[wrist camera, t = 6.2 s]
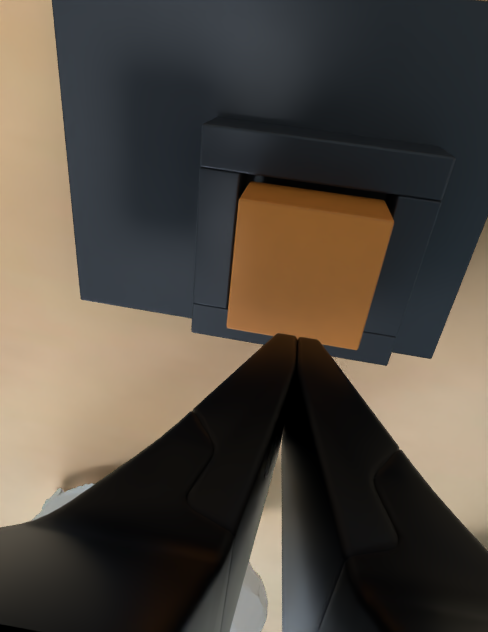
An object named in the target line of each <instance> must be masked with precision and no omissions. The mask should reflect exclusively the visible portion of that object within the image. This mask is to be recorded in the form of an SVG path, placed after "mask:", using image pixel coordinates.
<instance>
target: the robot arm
mask: <svg viewBox="0 0 488 632" xmlns="http://www.w3.org/2000/svg"><path fill="white" fill-rule="evenodd" d="M282 434H283V435H282ZM281 439H282V451H281V470H282V632H488V551H487V550H486V549H485V548H484V547H483V546H482V545H481V543H480V542H479V541H478V540H477V539H476V538H475V537H474V536H473V535H472V534H471V533H470V531H469V530H468V529H467V528H466V527H465V526H464V525H463V524H462V523H461V522H460V521H459V519H458V518H457V517H456V516H455V515H454V514H453V513H452V511H451V510H450V509H449V508H448V507H447V506H446V505H445V503H444V502H443V501H442V500H441V499H440V498H439V497H438V496H437V494H436V493H435V492H434V491H433V490H432V488H431V487H430V486H429V485H428V483H427V482H426V481H425V480H424V478H423V477H422V476H421V475H420V473H419V472H418V471H417V470H416V468H415V467H414V466H413V465H412V463H411V462H410V461H409V459H408V458H407V457H406V455H405V454H404V453H403V451H402V450H399V446H398V445H397V444H396V442H395V441H394V440H393V438H392V437H391V436H390V434H389V433H388V432H387V430H386V429H385V428H384V426H383V425H382V424H381V422H380V421H379V420H378V418H377V417H376V416H375V414H374V413H373V412H372V410H371V409H370V408H369V406H368V405H367V404H366V402H365V401H364V400H363V398H362V397H361V396H360V394H359V393H358V392H357V390H356V389H355V388H354V386H353V385H352V384H351V382H350V381H349V380H348V378H347V377H346V376H345V374H344V373H343V372H342V370H341V369H340V368H339V366H338V365H337V364H336V362H335V361H334V360H333V358H332V357H331V356H330V354H329V353H328V352H327V350H326V349H325V348H324V346H323V345H322V344H321V342H320V341H319V340H317V339H312V338H306V337H299V338H298V339H297V337H296V336H294V335H288V334H282V333H277V334H276V335H275V336H273V337H272V338H271V339H270V340H269V341H268V342H267V343H266V344H265V345H264V346H262V347H261V348H260V349H259V350H258V351H257V352H256V353H255V354H254V355H252V356H251V357H250V358H249V359H248V360H247V361H246V362H245V363H244V364H243V365H241V366H240V367H239V368H238V369H237V370H236V371H235V372H234V373H233V374H232V375H230V376H229V377H228V378H227V379H226V380H225V381H224V382H223V383H222V384H220V385H219V386H218V387H217V388H216V389H215V390H214V391H213V392H212V393H211V394H209V395H208V396H207V397H206V398H205V399H204V400H203V401H202V402H201V403H199V404H198V405H197V406H196V407H195V408H194V409H193V411H191V412H189V413H188V414H187V415H186V416H185V417H184V418H183V419H182V420H181V421H179V422H178V423H177V424H176V425H175V426H174V427H172V428H171V429H170V430H169V431H168V432H166V433H165V434H164V435H163V436H162V437H160V438H159V439H158V440H156V441H155V442H154V443H152V444H151V445H150V446H148V447H147V448H146V449H144V450H143V451H142V452H140V453H139V454H137V455H136V456H135V457H133V458H132V459H130V460H129V461H128V462H126V463H125V464H123V465H122V466H120V467H119V468H117V469H116V470H115V471H113V472H112V473H110V474H109V475H107V476H106V477H104V478H103V479H102V480H100V481H99V482H97V483H96V484H94V485H93V486H91V487H90V488H89V489H87V490H86V491H84V492H83V493H81V494H80V495H78V496H77V497H76V498H74V499H73V500H71V501H70V502H68V503H66V504H65V505H63V506H62V507H60V508H58V509H56V510H55V511H53V512H51V513H49V514H47V515H45V516H42V517H40V518H38V519H35V520H32V521H29V522H26V523H22V524H18V525H12V526H6V527H0V632H230V628H231V624H232V621H233V617H234V614H235V610H236V606H237V603H238V599H239V595H240V592H241V588H242V584H243V581H244V577H245V573H246V570H247V566H248V562H249V559H250V555H251V551H252V548H253V544H254V540H255V537H256V533H257V529H258V526H259V522H260V518H261V515H262V511H263V507H264V504H265V500H266V497H267V493H268V489H269V486H270V482H271V478H272V475H273V471H274V467H275V464H276V460H277V456H278V452H279V448H280V444H281Z"/></svg>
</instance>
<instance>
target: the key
mask: <svg viewBox="0 0 488 632" xmlns="http://www.w3.org/2000/svg"><path fill="white" fill-rule="evenodd" d="M393 226H394V220H393V218H392V216H391V213H390V211H389V209H388V207H387V205H386V203H385V201H384V200H380V199H373V198H366V197H359V196H352V195H345V194H338V193H331V192H324V191H317V190H310V189H303V188H296V187H289V186H282V185H275V184H268V183H261V182H254V181H251V182H249V184H248V186H247V187H246V189H245V191H244V192H243V194H242V195H241V197H240V199H239V202H238V212H237V222H236V233H235V243H234V253H233V263H232V274H231V284H230V294H229V304H228V315H227V325H226V326H227V328H229V329H235V330H241V331H246V332H252V333H258V334H264V335H270V336H275V335H276V334H277V333H282V334H288V335H294V336H296V337H297V339H298V338H299V337H306V338H312V339H317V340H319V341H320V342H321V344H323V345H329V346H335V347H341V348H346V349H352V350H358V348H359V345H360V341H361V338H362V334H363V331H364V327H365V324H366V320H367V317H368V313H369V310H370V306H371V303H372V299H373V296H374V292H375V289H376V285H377V282H378V278H379V275H380V271H381V268H382V264H383V261H384V257H385V254H386V250H387V247H388V243H389V240H390V236H391V233H392V229H393Z"/></svg>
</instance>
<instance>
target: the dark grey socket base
mask: <svg viewBox="0 0 488 632" xmlns="http://www.w3.org/2000/svg"><path fill="white" fill-rule="evenodd" d="M52 7H53V17H54V27H55V38H56V48H57V58H58V69H59V79H60V89H61V100H62V110H63V120H64V131H65V141H66V151H67V162H68V172H69V182H70V193H71V203H72V213H73V224H74V234H75V244H76V255H77V265H78V275H79V286H80V296H81V300H86V301H92V302H98V303H104V304H110V305H116V306H122V307H128V308H134V309H140V310H145V311H151V312H157V313H163V314H169V315H175V316H181V317H187V318H192V329H191V331H192V332H193V333H199V334H205V335H210V336H216V337H222V338H228V339H234V340H240V341H245V342H251V343H257V344H263V345H265V344H266V343H267V342H268V341H269V340H270V339H271V338H272V337H273V336H270V335H264V334H258V333H252V332H246V331H241V330H235V329H229V328H227V326H226V325H227V315H228V304H229V294H230V284H231V274H232V263H233V253H234V243H235V233H236V222H237V212H238V202H239V199H240V197H241V195H242V194H243V192H244V191H245V189H246V187H247V186H248V184H249V182H251V181H254V182H261V183H268V184H275V185H282V186H289V187H296V188H303V189H310V190H317V191H324V192H331V193H338V194H345V195H352V196H359V197H366V198H373V199H380V200H384V201H385V203H386V205H387V207H388V209H389V211H390V213H391V216H392V218H393V220H394V226H393V229H392V233H391V236H390V240H389V243H388V247H387V250H386V254H385V257H384V261H383V264H382V268H381V271H380V275H379V278H378V282H377V285H376V289H375V292H374V296H373V299H372V303H371V306H370V310H369V313H368V317H367V320H366V324H365V327H364V331H363V334H362V338H361V341H360V345H359V348H358V350H352V349H346V348H341V347H335V346H329V345H323V344H322V345H323V346H324V348H325V349H326V350H327V352H328V353H329V354H330V356H333V357H338V358H344V359H350V360H356V361H362V362H368V363H373V364H379V365H385V366H386V365H387V364H388V361H389V358H390V355H391V352H393V353H399V354H405V355H411V356H417V357H423V358H429V359H431V358H432V356H433V353H434V351H435V348H436V346H437V343H438V341H439V338H440V336H441V333H442V331H443V328H444V326H445V323H446V320H447V318H448V315H449V313H450V310H451V308H452V305H453V303H454V300H455V298H456V295H457V293H458V290H459V287H460V285H461V282H462V280H463V277H464V275H465V272H466V270H467V267H468V265H469V262H470V260H471V257H472V254H473V252H474V249H475V247H476V244H477V242H478V239H479V237H480V234H481V232H482V229H483V227H484V224H485V221H486V219H487V216H488V1H479V0H52Z"/></svg>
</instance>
